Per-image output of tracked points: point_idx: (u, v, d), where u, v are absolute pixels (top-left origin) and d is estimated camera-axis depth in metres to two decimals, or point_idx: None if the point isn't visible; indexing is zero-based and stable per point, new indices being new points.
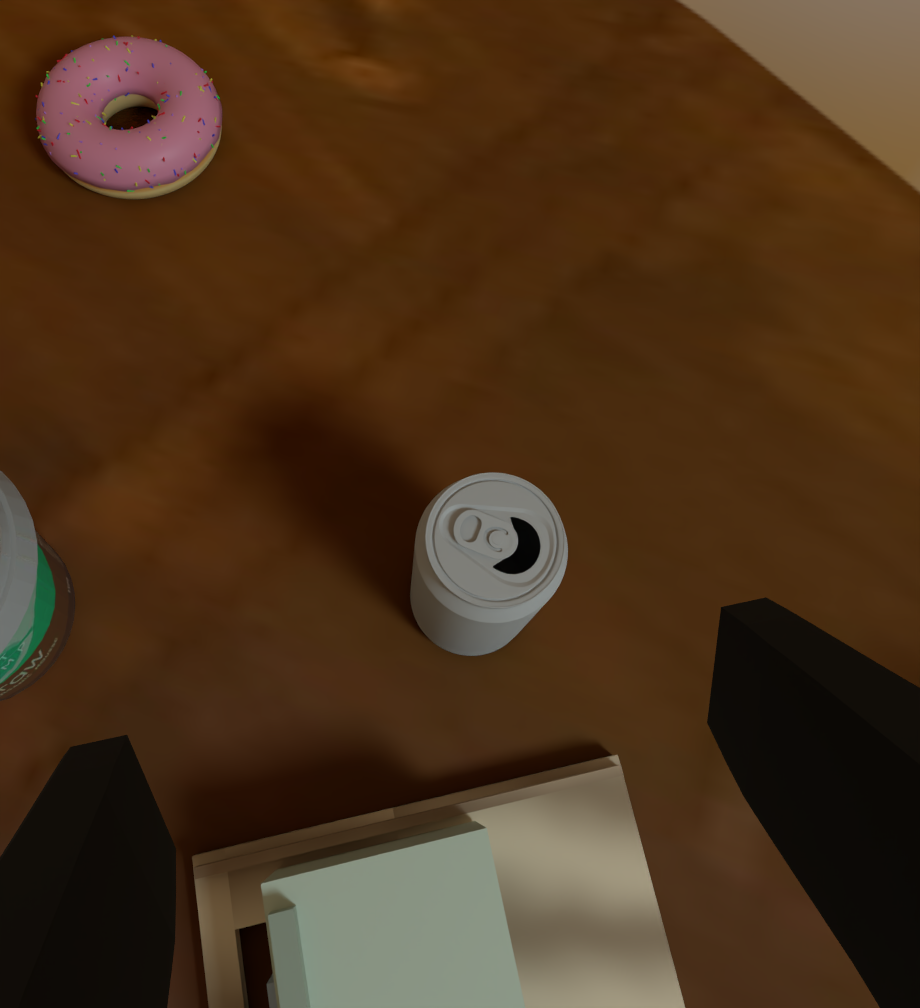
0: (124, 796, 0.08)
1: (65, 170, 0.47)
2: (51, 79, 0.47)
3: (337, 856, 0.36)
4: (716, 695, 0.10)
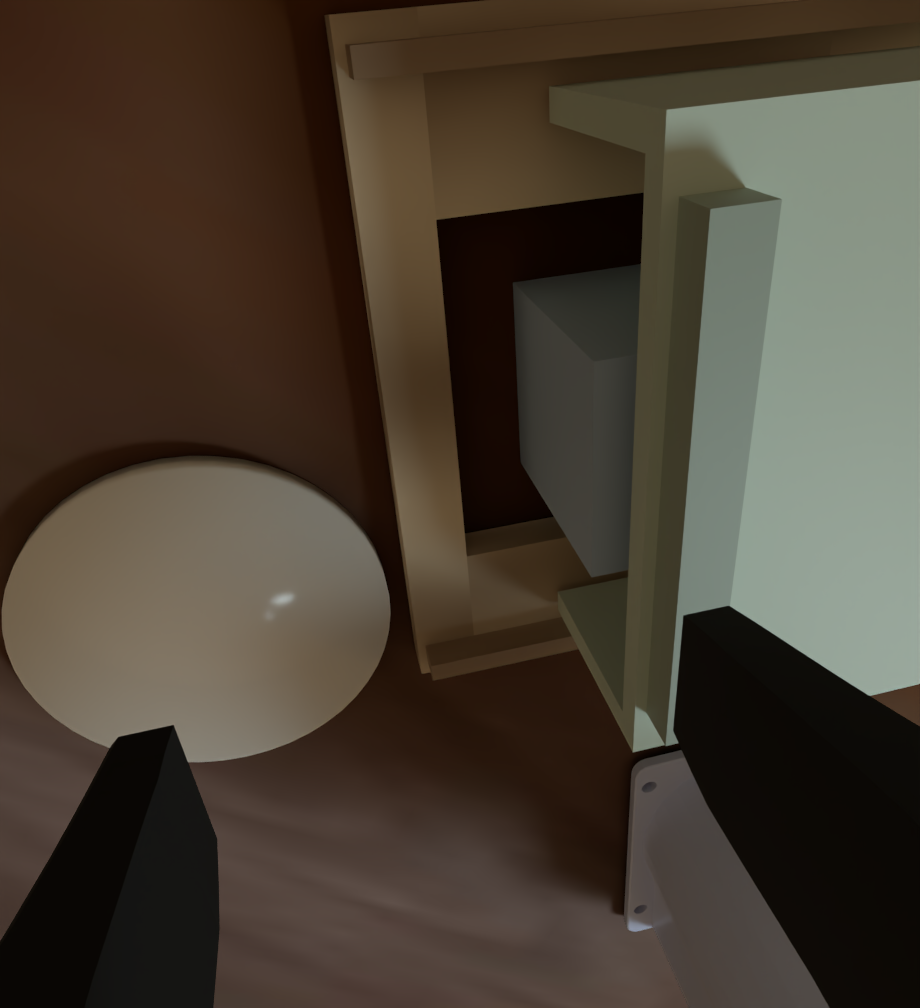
0: (173, 785, 0.08)
1: None
2: None
3: (727, 72, 0.14)
4: (680, 703, 0.10)
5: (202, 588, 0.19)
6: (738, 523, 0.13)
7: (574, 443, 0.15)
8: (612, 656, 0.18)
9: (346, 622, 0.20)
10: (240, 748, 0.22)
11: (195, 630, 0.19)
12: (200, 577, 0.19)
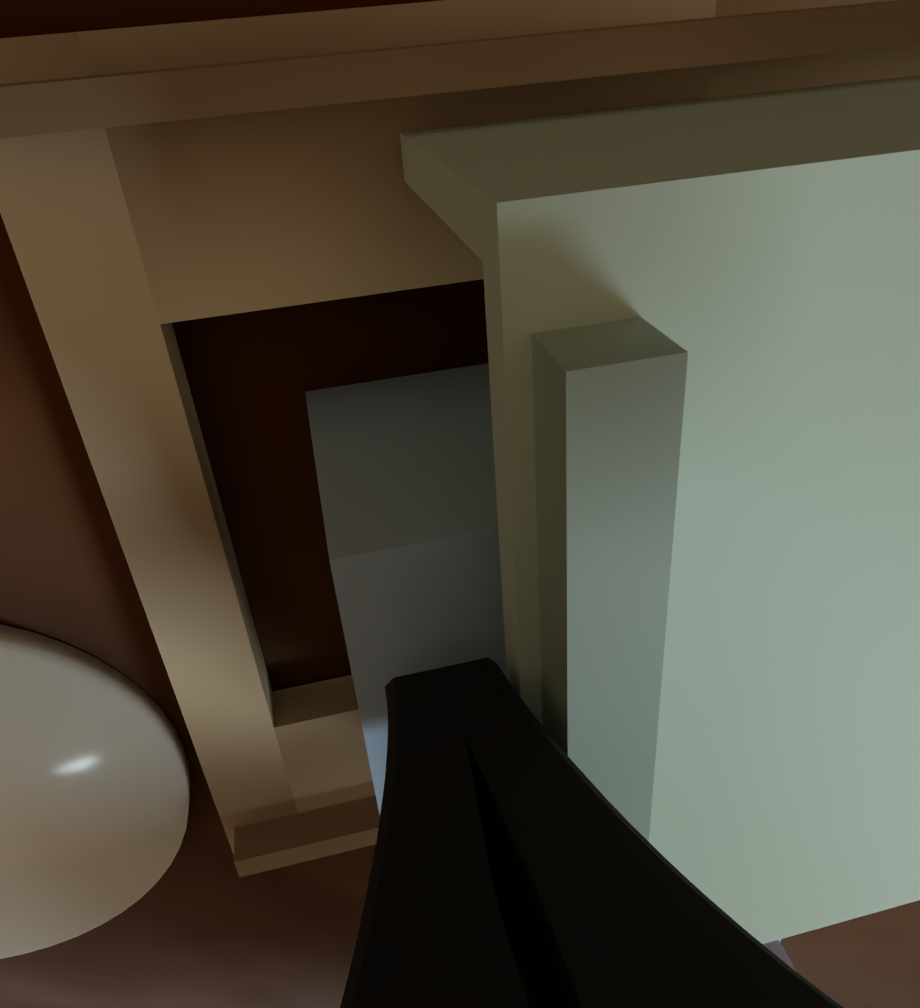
0: None
1: None
2: None
3: (645, 117, 0.10)
4: None
5: None
6: (650, 781, 0.09)
7: None
8: None
9: (128, 803, 0.16)
10: (12, 946, 0.17)
11: None
12: None
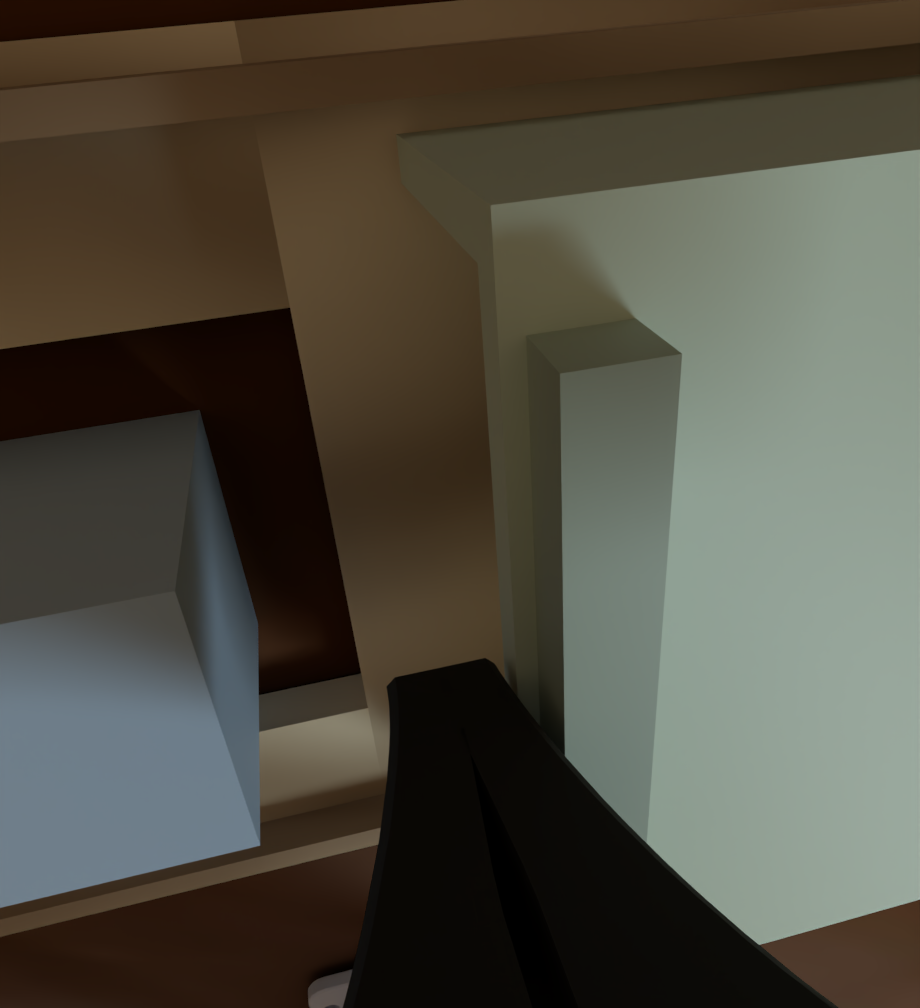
0: None
1: None
2: None
3: (641, 117, 0.10)
4: None
5: None
6: (648, 781, 0.09)
7: None
8: None
9: None
10: None
11: None
12: None
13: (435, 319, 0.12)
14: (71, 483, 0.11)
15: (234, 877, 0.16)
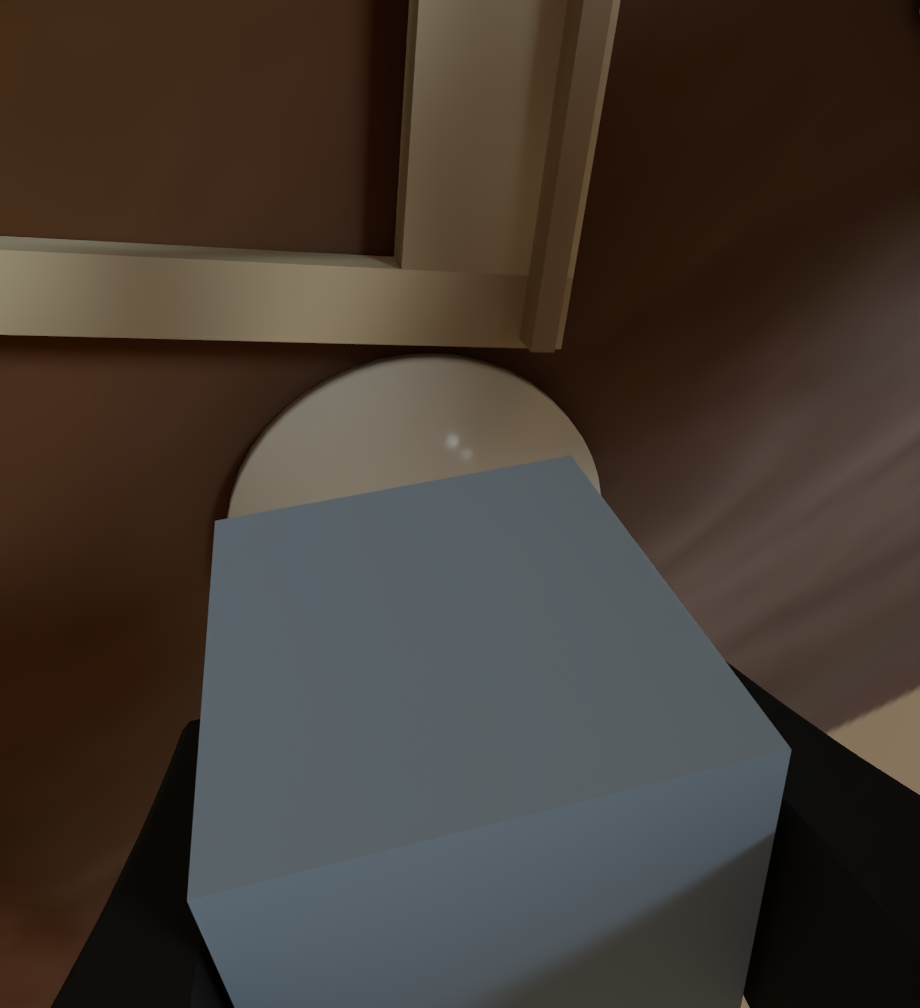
0: None
1: None
2: None
3: None
4: None
5: None
6: None
7: None
8: None
9: (461, 414, 0.18)
10: None
11: None
12: None
13: None
14: None
15: None
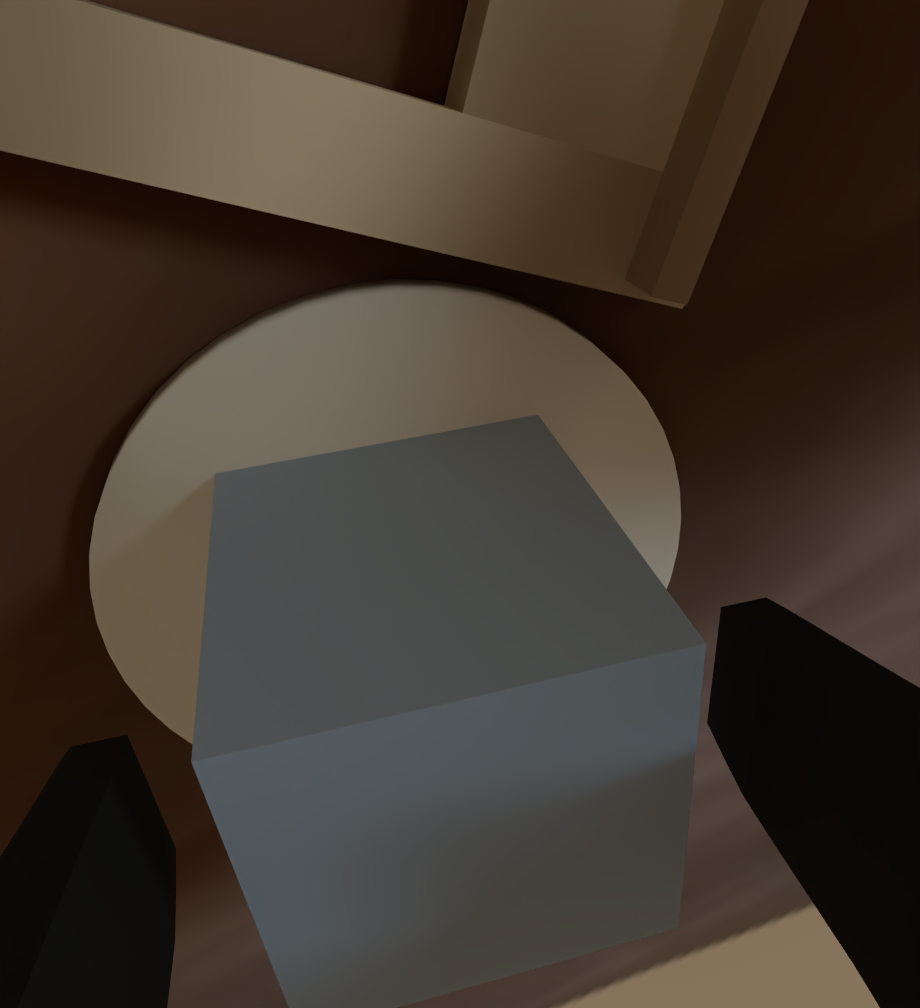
0: (124, 796, 0.08)
1: None
2: None
3: None
4: (716, 695, 0.10)
5: None
6: None
7: None
8: None
9: (505, 391, 0.11)
10: None
11: None
12: None
13: None
14: None
15: None
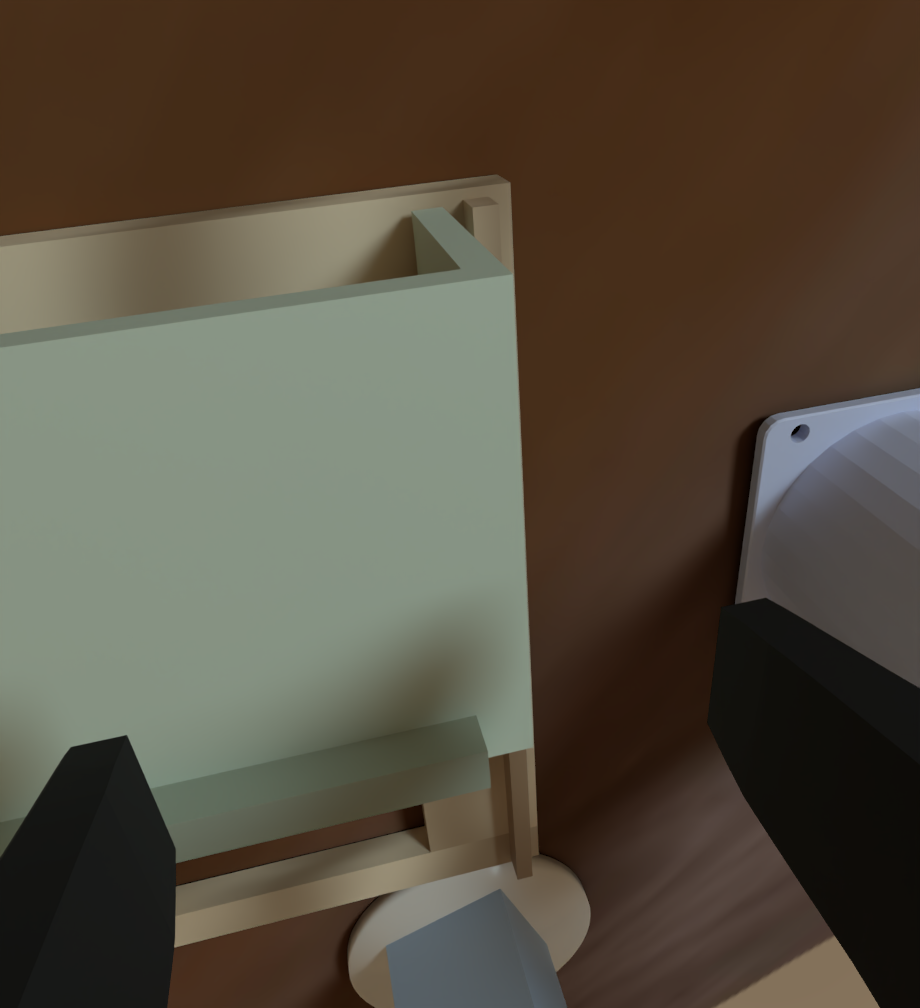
0: (124, 796, 0.08)
1: None
2: None
3: None
4: (716, 695, 0.10)
5: None
6: (208, 817, 0.14)
7: None
8: None
9: (483, 888, 0.27)
10: (581, 919, 0.30)
11: None
12: None
13: None
14: None
15: None
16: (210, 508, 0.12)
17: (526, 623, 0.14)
